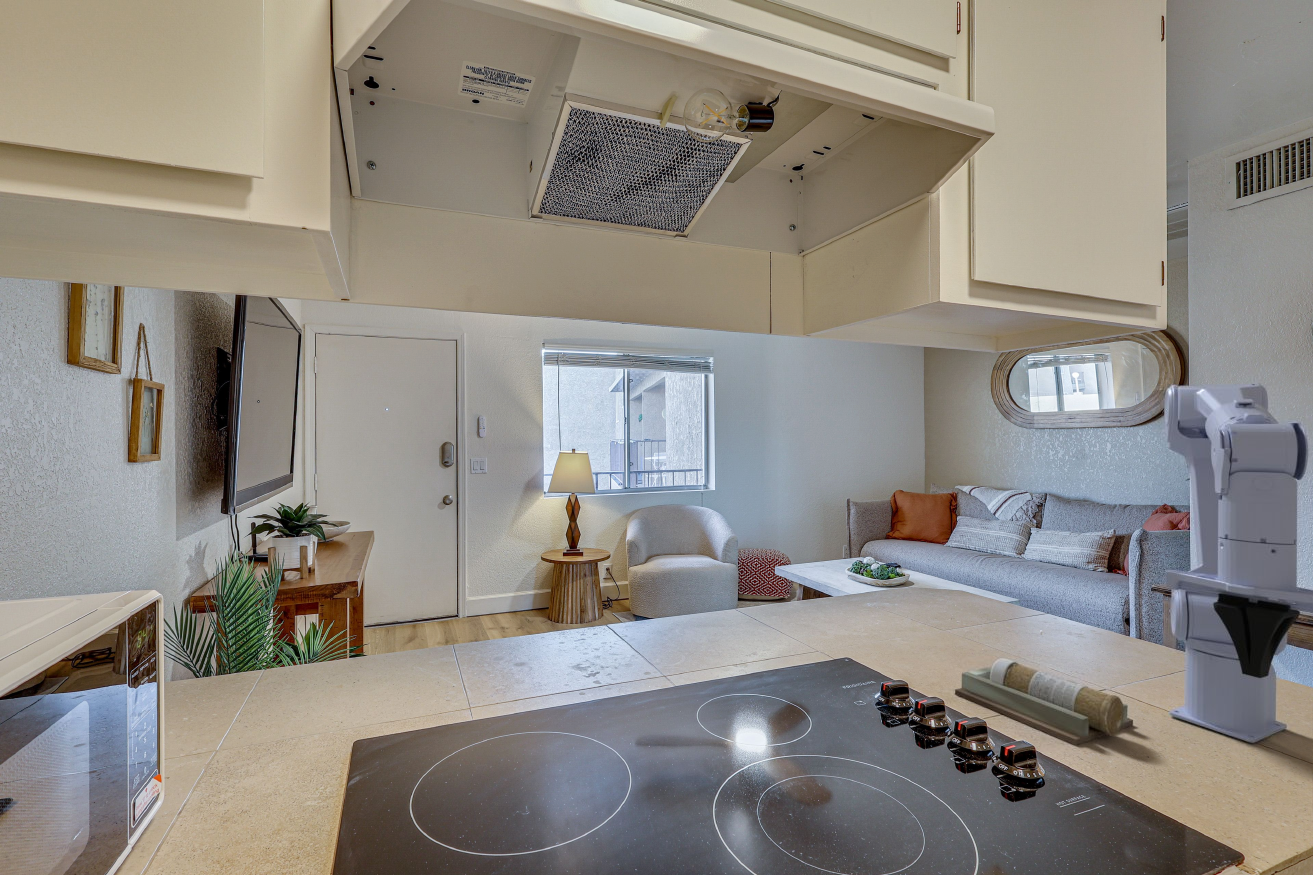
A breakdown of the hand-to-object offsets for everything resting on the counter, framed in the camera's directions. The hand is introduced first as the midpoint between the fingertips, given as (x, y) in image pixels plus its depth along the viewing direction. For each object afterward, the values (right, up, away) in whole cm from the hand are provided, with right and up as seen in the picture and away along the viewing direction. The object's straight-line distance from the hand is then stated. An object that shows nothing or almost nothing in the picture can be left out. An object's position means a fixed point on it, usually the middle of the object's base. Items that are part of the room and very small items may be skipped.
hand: (1255, 674), depth 61 cm
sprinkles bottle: (-8, -8, +7) cm, 13 cm away
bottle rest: (-12, -10, +15) cm, 22 cm away
